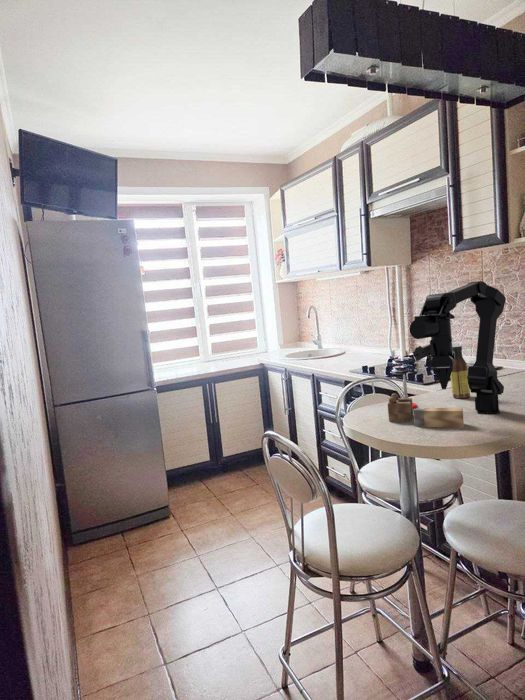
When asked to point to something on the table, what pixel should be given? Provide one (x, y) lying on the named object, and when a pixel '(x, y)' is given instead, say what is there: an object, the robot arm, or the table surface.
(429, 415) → the bed rail
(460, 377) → the sauce bottle
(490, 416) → the table surface
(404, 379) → the tow hook
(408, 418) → the arched block with knobs
